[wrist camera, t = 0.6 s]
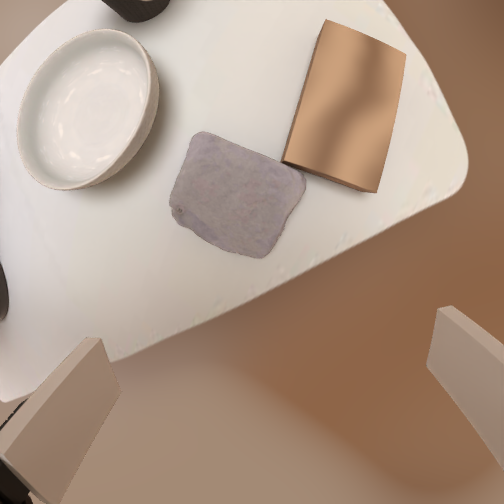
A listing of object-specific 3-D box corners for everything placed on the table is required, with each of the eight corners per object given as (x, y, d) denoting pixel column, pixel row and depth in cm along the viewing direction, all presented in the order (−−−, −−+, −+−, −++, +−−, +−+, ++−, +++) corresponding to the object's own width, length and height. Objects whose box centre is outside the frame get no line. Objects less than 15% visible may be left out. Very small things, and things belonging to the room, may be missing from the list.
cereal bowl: (204, 118, 26) (188, 99, 20) (93, 217, 29) (57, 227, 22) (127, 29, 23) (102, 3, 17) (36, 121, 26) (1, 114, 19)
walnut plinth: (280, 163, 27) (284, 159, 24) (318, 36, 24) (325, 19, 20) (361, 191, 28) (376, 193, 24) (391, 66, 24) (406, 54, 20)
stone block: (271, 253, 32) (310, 171, 28) (267, 274, 27) (314, 178, 23) (173, 212, 31) (202, 127, 27) (155, 225, 27) (186, 126, 23)
